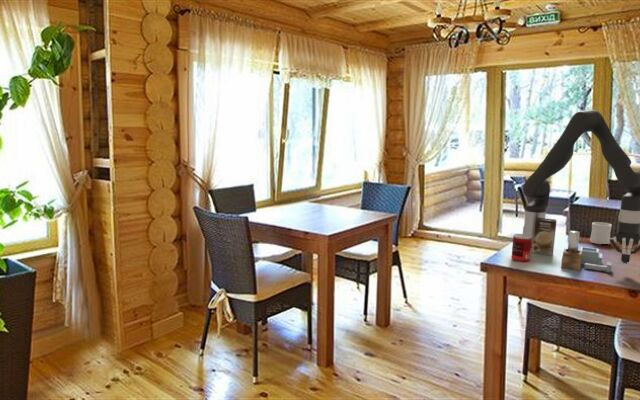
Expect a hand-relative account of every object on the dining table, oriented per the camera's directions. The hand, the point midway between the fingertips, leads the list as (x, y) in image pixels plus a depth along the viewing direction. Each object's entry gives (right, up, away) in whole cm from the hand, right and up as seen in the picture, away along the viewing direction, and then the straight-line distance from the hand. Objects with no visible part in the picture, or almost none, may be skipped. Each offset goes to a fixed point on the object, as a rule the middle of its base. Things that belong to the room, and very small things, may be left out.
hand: (625, 262), depth 199 cm
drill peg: (-16, +2, +10) cm, 19 cm away
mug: (+20, +4, +54) cm, 57 cm away
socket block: (-16, -3, +10) cm, 20 cm away
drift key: (-9, -4, +6) cm, 11 cm away
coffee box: (-19, 0, +31) cm, 37 cm away
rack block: (-6, -2, +16) cm, 17 cm away
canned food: (-34, -1, +20) cm, 39 cm away
